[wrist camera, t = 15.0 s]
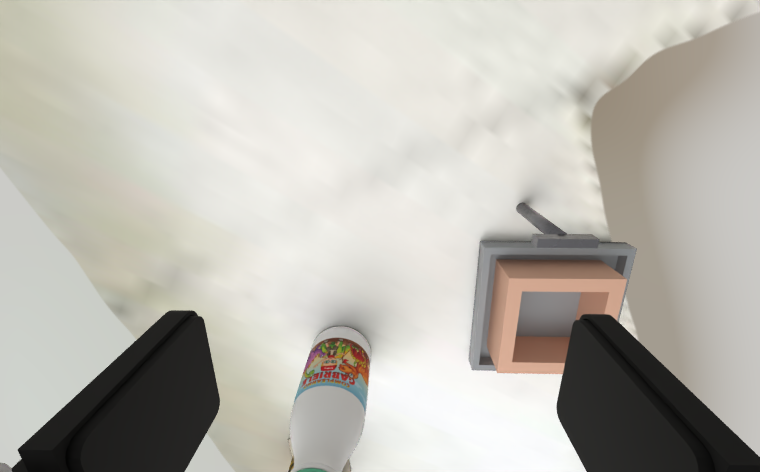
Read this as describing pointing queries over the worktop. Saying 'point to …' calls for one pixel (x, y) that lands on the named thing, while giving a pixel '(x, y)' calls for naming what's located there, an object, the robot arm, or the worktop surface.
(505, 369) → the ring
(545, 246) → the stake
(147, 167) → the worktop surface
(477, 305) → the tray
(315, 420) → the milk bottle
